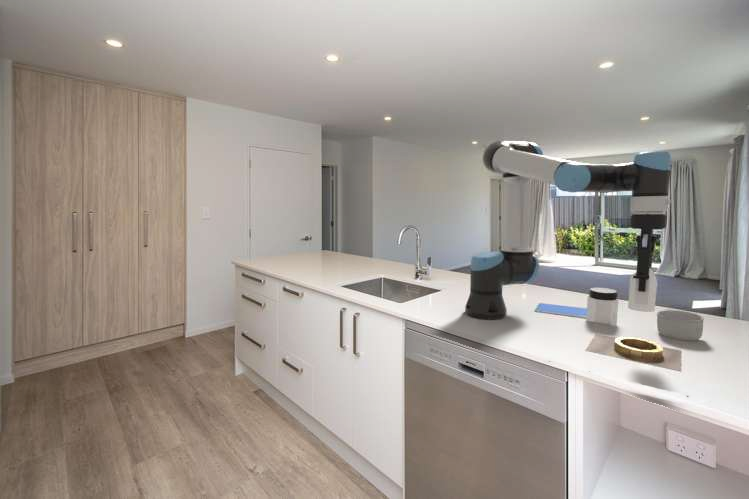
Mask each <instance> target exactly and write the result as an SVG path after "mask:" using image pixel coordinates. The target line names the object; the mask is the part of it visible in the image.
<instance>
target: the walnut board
mask: <svg viewBox="0 0 749 499" xmlns="http://www.w3.org/2000/svg"><path fill="white" fill-rule="evenodd" d="M616 338H617V337H613V336H607V335H604V334H603V335H602V334H597V333H596V334H595V335H594V336H593V338H592V339H591V341H590V343H589V344H588V346H587V347H586V349H585V352H591V353H594V354H595V353H596V354H599V355H603V356H609V357H614V358H616V359H621V360H626V361H627V360H628V361H632V362H636V363H641V364H645V365H648V366H653V367H659V368H663V369H666V370H667V369H668V370H673V371H677V372H682V350H680V349H675V348H671V347H665V346H662V347H663V353H662V358H660V359H656V360H651V359H640V358H635V357H631V356H627V355H625V354H622V353H620V352H618V351H617V350H616V349H614V342H615V339H616ZM626 346H627V345H626ZM628 347H631V348H635V349H640V350H649V349H646V348H642V347H637V346H628Z"/></svg>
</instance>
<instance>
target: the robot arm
mask: <svg viewBox="0 0 749 499" xmlns="http://www.w3.org/2000/svg"><path fill="white" fill-rule="evenodd" d="M482 161H483V164H484V167H485V168H486V169H487V170H489V171H490V172H492V173H497V174H502V180H503V181H504V182H505V183H506V195H505V196H506V197H505V198H506V200H505V201H506V202H505V233H504V234H505V235H504V236H505V237H504V246H502V248H500V251H483V252H479V253H475V254H474V255H472V257H471V258H470V264H469V265H470V267H469V268H470V280H469V281H470V283H469V284H470V285H469V286H470V289H469V291H470V292H469V295H468V298H467V301H466V304H465V306H464V308H465V310H464V311H465V312H464V313H465V314H466V316H469V317H471V318H476V319H481V320H500V319H503V318H507V311H508V310H507V306H506V303H505V300H504V297H503V286H511V285H512V286H513V285H523V284H527V283H530V282H532V281H533V280H535V279H536V278H537V276H538V275H539V270H540V262H539V260H538V257H537V256H536V255H535V254H534V251H533V248H532V247H530V223H531V222H530V219H531V198H532V197H531V193H532V182H533V181H538V182H541V183H544V184H548V185H552V186H555V187H557V189H558V190H559V191H562V192H568V193H584V192H585V193H588V192H589V193H601V194H603V193H604V194H607V193H620V192H631V201H630V212H631V213H632V214H631V215H630V217H629V228H630V229H635V230H637V229H638V230H640V234H638V235H636V242H637V244H636V245H637V246H636V251H637V258H636V259H637V263H636V271H637V273H636V276H633V278H636V289H635V303H639V304H648V293H649V280H650V279H649V277H650V276H649V270H650V268H651V269H652V270H653V268H652V264H653V253H654V252H655V249H656V248H655V247H656V243H657V236H658V235H654V230H664V229H666V227H667V220H668V215H667V214H664V213H667V211H668V205H670V204H671V203H672V200H671V199H669V189H670V187H669V186H670V179H671V171H672V156H671V153H670V152H669V151H664V150H654V151H644V152H640V153H639V152H638V153H636V154H635V155H634V158H633V161H632V162H627V163H618V164H606V163H605V164H604V163H603V164H602V163H600V164H599V163H585V162H583V163H582V162H577V161H572V160H567V159H561V158H558V157H557V158H556V157H551V156H546V155H544V153H543V150H542V148H541V147H540V146H539V145H538V144H536V143H535V142H530V141H520V140H519V141H518V140H502V139H501V140H496V141H494V142H491V143H490V144H489V145H488V146H487V147H486V148H485V149H484V152H483V155H482ZM652 272H653V274H654V275H655V271H652Z"/></svg>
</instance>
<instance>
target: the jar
mask: <svg viewBox="0 0 749 499" xmlns="http://www.w3.org/2000/svg"><path fill="white" fill-rule="evenodd" d="M586 302H587V304H586V308H587V316H586V318H585V319H586V320H585V321H586V322H591V323H597V324H602V325H607V326H613V327H614V326H615V327H616V326H617V325H618V312H619V311H618V308H619V298H618V290H615V289H612V288H608V287H607V288H606V287H591V288H589V292H588V296H587V300H586Z"/></svg>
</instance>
